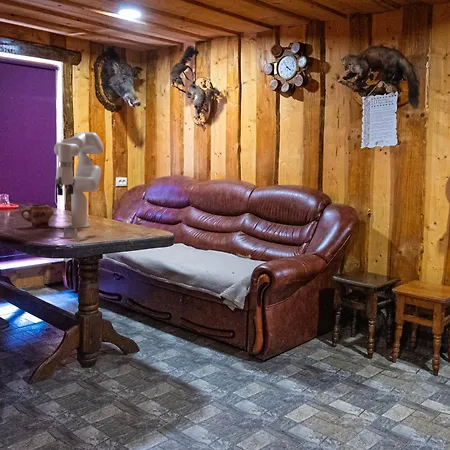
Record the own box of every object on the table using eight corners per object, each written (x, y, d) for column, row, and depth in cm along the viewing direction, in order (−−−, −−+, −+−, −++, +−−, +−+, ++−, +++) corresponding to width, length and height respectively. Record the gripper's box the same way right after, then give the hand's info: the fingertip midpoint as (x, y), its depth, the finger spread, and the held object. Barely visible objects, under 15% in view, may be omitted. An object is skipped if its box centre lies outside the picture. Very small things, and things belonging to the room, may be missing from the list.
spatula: (90, 235, 298) (89, 234, 297) (98, 236, 296) (98, 235, 296) (70, 240, 281) (70, 238, 281) (79, 241, 279) (79, 239, 279)
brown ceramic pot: (25, 229, 315) (25, 206, 313) (17, 227, 323) (17, 204, 321) (57, 227, 328) (57, 205, 326) (48, 224, 337) (48, 203, 335)
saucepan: (80, 236, 295) (80, 227, 294) (71, 238, 288) (71, 229, 287) (58, 234, 300) (58, 225, 299) (49, 236, 293) (49, 227, 292)
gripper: (68, 164, 312) (69, 193, 314) (49, 165, 296) (50, 195, 298) (79, 165, 309) (80, 194, 312) (60, 165, 293) (61, 196, 295)
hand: (65, 194), depth 305 cm, fingers open, 9 cm apart
